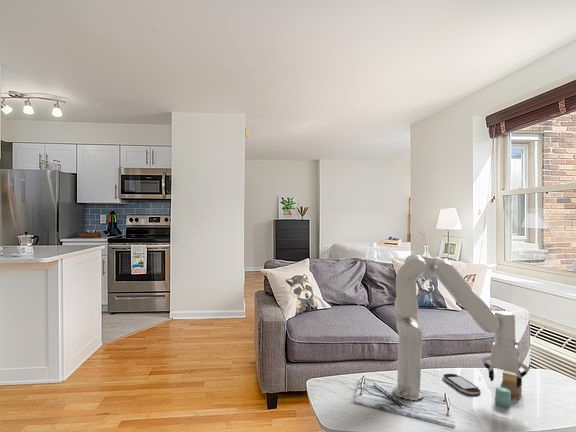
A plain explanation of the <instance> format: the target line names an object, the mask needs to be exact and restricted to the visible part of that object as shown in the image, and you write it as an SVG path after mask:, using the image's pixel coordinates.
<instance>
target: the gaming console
mask: <svg viewBox="0 0 576 432" xmlns="http://www.w3.org/2000/svg"><path fill="white" fill-rule="evenodd" d="M442 378H443V380H444V382H446V383H447V384H449V385H450V386H452V387H453V388H455V389H456V390H457V391H459V392H461V393H462V394H465V395H467V396H478V395H479V394H481V389H479V387H478V386H476V385H475V384H473V383H472V382H470V381H468V380H467V379H465V378H464V377H463V376H460V375H458V374H455V373H444V374H442Z"/></svg>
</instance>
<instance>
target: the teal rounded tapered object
mask: <svg viewBox="0 0 576 432" xmlns="http://www.w3.org/2000/svg"><path fill="white" fill-rule="evenodd" d="M494 398H495V400H494V401H495V402H494V404H495V405H496V406H497V407H500V408H505V409H509V408H511V405H512V404H511V403H512V402H511V399H512V398H511V391H510V390H508V389H506V388H502V387H501V386H496V387H495V397H494Z"/></svg>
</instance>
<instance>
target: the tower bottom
mask: <svg viewBox="0 0 576 432" xmlns="http://www.w3.org/2000/svg"><path fill="white" fill-rule="evenodd" d="M500 387H502V388H506V389H508V390H510V391H511V399H514V400H516V401H517V400H518V401H519V400H520V398H521V396H522V390H523V389H522V387H523V384H522V385H520V387H519V388H517V387H513V386H509V385H505V384H503V380H502V381H501V382H500Z"/></svg>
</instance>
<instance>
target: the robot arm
mask: <svg viewBox="0 0 576 432" xmlns="http://www.w3.org/2000/svg"><path fill="white" fill-rule="evenodd" d="M421 276H428V277H429V276H430V277H435V278H436V279H437V280H438V281H439V282H440V284H441V285H442V286H443V287H444V288H445V290H447V292H448V294H449V295H450V296H451V297H452V298H453V299H454V301H456V302H457V303H458V304H459V305H460V306H461V307H462V308H463V309H464V310H465V311H466V312H467V313H468V314H469V316H471V317H472V320H473V322H474V324H475V325H476V326H478V327H479V328H480V330H482V331H483V332H484V333H488V334H494V341H493V343H492V346H491V352H490V353H491V354H490V355H489V356H485V357H482V359H481V361H482V363H483V366H484V367H485V368H486V369H487V370H488V378H489V379H490V380H489V381H490V382H493V381H494V379H495V374H494V373H495V370H494V369H497V370H502V371H504V370H506V371H510V372H515V373H516V375H517V376H518V377H517V388H519V387H520V385H522V386H523V377H526V375H527V374H528V373H529V371H530V366H527V365H526V364H525V363H523V362H521V361H520V353H519V348H518V346H520V341H518V340H517V339H516V316H515V314H514V313H513V312H510V311H506V310H504V311H503V310H498V311H495V310H492V309H491V308H490V307H489V306H488V305H487V303H485V301H484V300H483V299H482V298H481V297H480V296H479V294H478V293H477V292H476V291H475V290H474V288H472V286H471V285H470V284H469V283H468V282H467V280H466V279H465V278H464V277H463V275H461V273H460V272H459V271H458V270H457V268H455V266H454V265H453V264H452V263H451V262H449V261H447V260H446V259H443V258H438V257H431V256H424V255H419V254H410V255H408V256H406V258H405V260H404V263H403V264H402V266H400V268H398V270H397V273H396V276H395V293H396V294H395V295H396V297H395V299H394V313H395V314H394V315H395V321H396V322H395V323H396V330H397V333H398V344H397V345H398V346H397V378H396V379H397V381H396V383H397V384H396V386H394V387H393V394H394V393H395V394H394V395H395V396H396V397H398V396H401V397H403V398H406V399H410V400H409V401H413V400H415V401H419V400H418V399H421V398H423V399H424V397H425V393H424V391H423V390H422V389H421V370H422V366H421V365H422V345H423V330H422V329H421V327H420V325H419V323H418V313H419V302H418V296H417V294H418V293H417V281H418V279H419V278H420V277H421ZM488 361H490V364H489V363H488ZM520 368H522V369H524V370H523V371H520ZM406 399H405V400H406ZM421 400H422V399H421Z"/></svg>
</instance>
